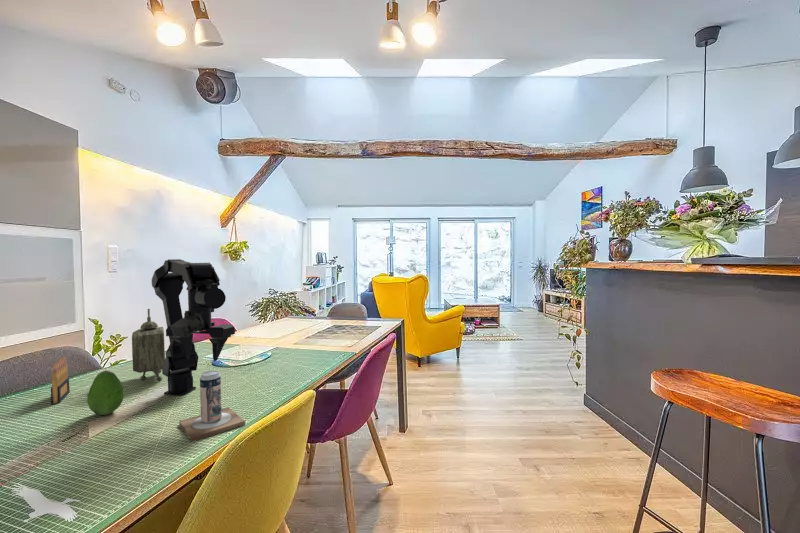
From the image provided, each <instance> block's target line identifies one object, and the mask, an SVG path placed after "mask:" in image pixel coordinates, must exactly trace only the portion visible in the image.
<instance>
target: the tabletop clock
mask: <svg viewBox="0 0 800 533" xmlns="http://www.w3.org/2000/svg"><path fill="white" fill-rule="evenodd" d="M150 314H151V309H150V308H147V317H146V320H147V321H145V322H143V323H142V324H141V326H140V328H139V329H136V330H134V331H133V332H132V334H131V353H132V354H131V356H132V370H133V371H132V372H135V373H139V374H142V375H141V376H140V378H139V379H140V381H144V380H146V378H147V377H146V373H148V372H153V373H154V374H155V375H156V376H155V377H156V381H158V382H161V381H162V380H163V377H162V376H160V375H159V374H161V373H162V365H163V363H164V360H165V358H166V349H165V331H164V326H158V323H156V321H152V320H151V319H152V317H151V315H150Z"/></svg>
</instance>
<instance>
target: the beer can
mask: <svg viewBox="0 0 800 533" xmlns="http://www.w3.org/2000/svg"><path fill="white" fill-rule="evenodd" d="M199 391H200V392H199V393H200V394H199V395H200V396H199V397H200V415H201V421H202V422H205V423H212V422H216V421H218V420H219V419H220V418H221V417H222V409H223V408H222V406H223V405H222V403H223V402H222V375H221V373H220V371H218V370H209V371H205V372H202V373H201V376H200V378H199Z"/></svg>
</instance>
